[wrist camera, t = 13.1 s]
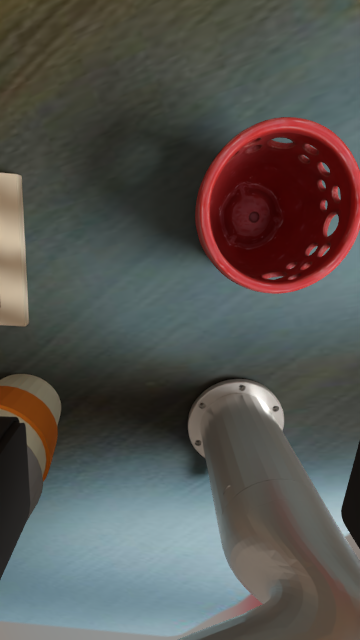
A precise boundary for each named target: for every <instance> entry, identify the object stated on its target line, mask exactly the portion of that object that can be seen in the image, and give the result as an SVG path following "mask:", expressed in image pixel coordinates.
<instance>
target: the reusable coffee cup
mask: <svg viewBox="0 0 360 640" xmlns="http://www.w3.org/2000/svg"><path fill="white" fill-rule="evenodd" d="M60 415H61V402H60V399H59V396H58V394H57V392H56V391H55V389H54V388H53V387H52V386H51V385H50V384H49V383H47V382H46V381H45V380H43V379H41V378H39V377H36V376H33V375H29V374H14V375H10V376H7V377H5V378H3V379H1V380H0V416H8V417H17V418H18V419H19V422H20V423H25V425H26V437H27V454H28V471H29V488H30V512H29V516H30V515H31V513H32V511H33V510H34V508H35V506H36V505H37V503H38V501H39V498H40V496H41V493H42V486H43V481H44V480H45V478H46V476H47V474H48V471H49V468H50V464H51V461H52V457H53V453H54V450H55V446H56V442H57V435H58V431H57V425H58V422H59V418H60ZM29 516H28V518H29ZM27 520H28V519H27ZM26 522H27V521H26Z"/></svg>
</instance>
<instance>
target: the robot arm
mask: <svg viewBox="0 0 360 640" xmlns="http://www.w3.org/2000/svg"><path fill="white" fill-rule="evenodd" d="M240 385H241V386H240ZM201 403H202V404H201ZM283 427H284V414H283V410H282V407H281V404H280V403H279V401H278V399H277V398H276V396H275V395H274V394H273V393H272V392H271V391H270V390H269V389H268V388H267V387H265V386H264V385H262V384H260V383H258V382H255V381H251V380H248V379H230V380H226V381H222V382H219V383H217V384H215V385H213V386H211V387H209V388H208V389H206V390H205V391H204V392H203V393H202V394H201V395H200V396H199V397H198V398H197V399H196V401H195V402H194V404H193V405H192V407H191V410H190V412H189V417H188V432H189V437H190V440H191V443H192V445H193V446H194V448H195V449H196V451H197V452H198V453H199V454H200V455H201V456H203V457H204V458H205V459H206V464H207V469H208V474H209V480H210V485H211V490H212V495H213V501H214V506H215V511H216V516H217V522H218V527H219V532H220V537H221V542H222V547H223V551H224V554H225V557H226V559H227V562H228V564H229V566H230V568H231V569H232V571H233V572H234V574H235V576H236V577H237V579H238V580H239V581H240V582H241V583H242V585H243V586H244V587H245V588H246V589H247V590H248V591H249V592H250V593H251V594H252V595H253V596H254V597H256V598H257V599H258V600H259V601H260V602H261V603H262V604H263V605H260V606H258V607H256V608H254V609H252V610H249V611H247V613H245V614H242V615H240V616H237V617H234V618H232V619H229V620H226V621H224V622H221V623H219V624H216V625H213V626H211V627H208V628H206V629H203V630H200V631H198V632H195V633H193V634H190V635H188V636H186V637H183V638H181V639H178V640H360V560H359V558H358V557H357V555H356V554H355V552H354V551H353V549H352V548H351V546H350V545H349V543H348V542H347V540H346V539H345V537H344V535H343V534H342V532H341V530H340V529H339V527H338V526H337V524H336V522H335V521H334V519H333V517H332V516H331V514H330V512H329V510H328V509H327V507H326V505H325V504H324V502H323V500H322V499H321V497H320V495H319V493H318V492H317V490H316V488H315V486H314V485H313V483H312V481H311V480H310V478H309V476H308V474H307V473H306V471H305V469H304V468H303V466H302V464H301V463H300V461H299V459H298V457H297V456H296V454H295V452H294V451H293V449H292V447H291V445H290V444H289V442H288V440H287V439H286V437H285V435H284V433H283V432H282V431H283ZM29 512H30V488H29V471H28V454H27V437H26V425H25V423H20V422H19V419H18V418H17V417H8V416H0V579H1V577H2V575H3V572H4V570H5V568H6V566H7V563H8V561H9V559H10V557H11V555H12V552H13V550H14V548H15V546H16V543H17V541H18V539H19V537H20V535H21V532H22V530H23V528H24V526H25V523H26V521H27V519H28V516H29ZM341 514H342V519H343V522H344V524H345V526H346V527H347V529H348V531H349V532H350V534H351V535H352V537H353V539H354V540H355V542H356V544H357V545H358V547H359V548H360V441H359V445H358V449H357V453H356V456H355V460H354V464H353V468H352V471H351V475H350V479H349V483H348V486H347V490H346V494H345V498H344V501H343V505H342V510H341Z"/></svg>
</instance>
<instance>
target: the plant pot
mask: <svg viewBox="0 0 360 640" xmlns="http://www.w3.org/2000/svg"><path fill="white" fill-rule="evenodd" d="M278 137H281V138H287V139H290V140H291V141H293V143H280V142H276V141H273V140H271V139H274V138H278ZM310 145H312V146H313V147H315V148H316V149H315V148H313V147H311V146H310ZM304 155H305V156H307V157H308V158H309V159H308V158H306V157H305V156H304ZM322 162H323V163H325V164H326V165H327V166H328V168H329V169H330V173H329V172H327V171H326V170H325V168H324V167H323V165H322ZM322 180H323V181H324V182H325V185H326V189H325V188H324V187H323V185H322ZM338 187H339V189H340V194H341V200H340V199H339V197H338V192H337V190H338ZM325 201H327V202H328V206H327V210H326V209H325ZM336 214H338V216H339V223H338V226H337V228H336V230H335V231H334V232H333V234H331V235H330V236H328V237H327V230H328V226H329V223H330V221H331V219H332V218H333V217H334V216H335V215H336ZM195 221H196V228H197V233H198V237H199V240H200V243H201V246H202V248H203V250H204V252H205V253H206V255H207V256H208V258H209V259H210V260H211V262H212V263H213V264H214V265H215V267H216V268H217V269H218V270H219V271H220V272H221V273H222V274H223V275H224V276H226V277H227V278H228V279H230V280H231V281H233V282H235V283H236V284H238V285H241V286H243V287H245V288H248V289H250V290H254V291H257V292H263V293H272V294H279V293H287V292H293V291H297V290H300V289H302V288H305V287H307V286H310V285H312V284H314V283H316V282H317V281H319V280H321V279H322V278H324V277H325V276H326V275H328V274H329V273H330V272H332V271H333V270H334V269H335V268H336V267H337V266H338V265H339V264H340V262H341V261H342V260H343V259H344V258H345V257H346V255H347V254H348V252H349V250H350V249H351V247H352V246H353V244H354V242H355V240H356V237H357V235H358V232H359V230H360V170H359V168H358V165H357V163H356V161H355V159H354V157H353V155H352V153H351V152H350V150H349V149H348V147H347V146H346V145H345V144H344V142H343V141H342V140H341V139H340V138H339V137H338V136H337V135H336V134H335V133H333V132H332V131H331V130H329V129H328V128H326V127H324V126H322V125H321V124H318V123H316V122H313V121H310V120H307V119H301V118H294V117H281V118H274V119H270V120H266V121H263V122H260V123H258V124H255V125H253V126H251V127H249V128H247V129H246V130H244V131H242V132H241V133H239V134H238V135H236V136H235V137H234V138H233V139H232V140H230V141H229V142H228V143H227V144H226V145H225V146H224V148H223V149H222V150H221V151H220V152H219V153H218V155H217V156H216V157H215V159H214V160H213V162H212V163H211V165H210V167H209V168H208V170H207V172H206V174H205V176H204V178H203V180H202V183H201V185H200V188H199V191H198V196H197V201H196V210H195ZM316 246H318V248H317V249H316V251H315V252H314V253H313V254H312V255H309V253H310V251H311V250H312V249H313V248H314V247H316ZM329 247H330V249H329V251H328V252H327V253H326V254H325V255H324V256H322V255H323V253H324V252H325V251H326V250H327V249H328V248H329ZM294 266H295V267H294ZM292 267H294V268H292ZM290 268H292V269H290ZM279 276H284V277H282V278H279V279H276V280H270V279H268V278H272V277H279Z"/></svg>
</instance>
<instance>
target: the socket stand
mask: <svg viewBox="0 0 360 640" xmlns="http://www.w3.org/2000/svg"><path fill="white" fill-rule="evenodd" d="M27 324H29V313H28V293H27V274H26V254H25V235H24V215H23V195H22V176H20V175H17V174H9V173H0V325H10V326H26V325H27Z"/></svg>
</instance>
